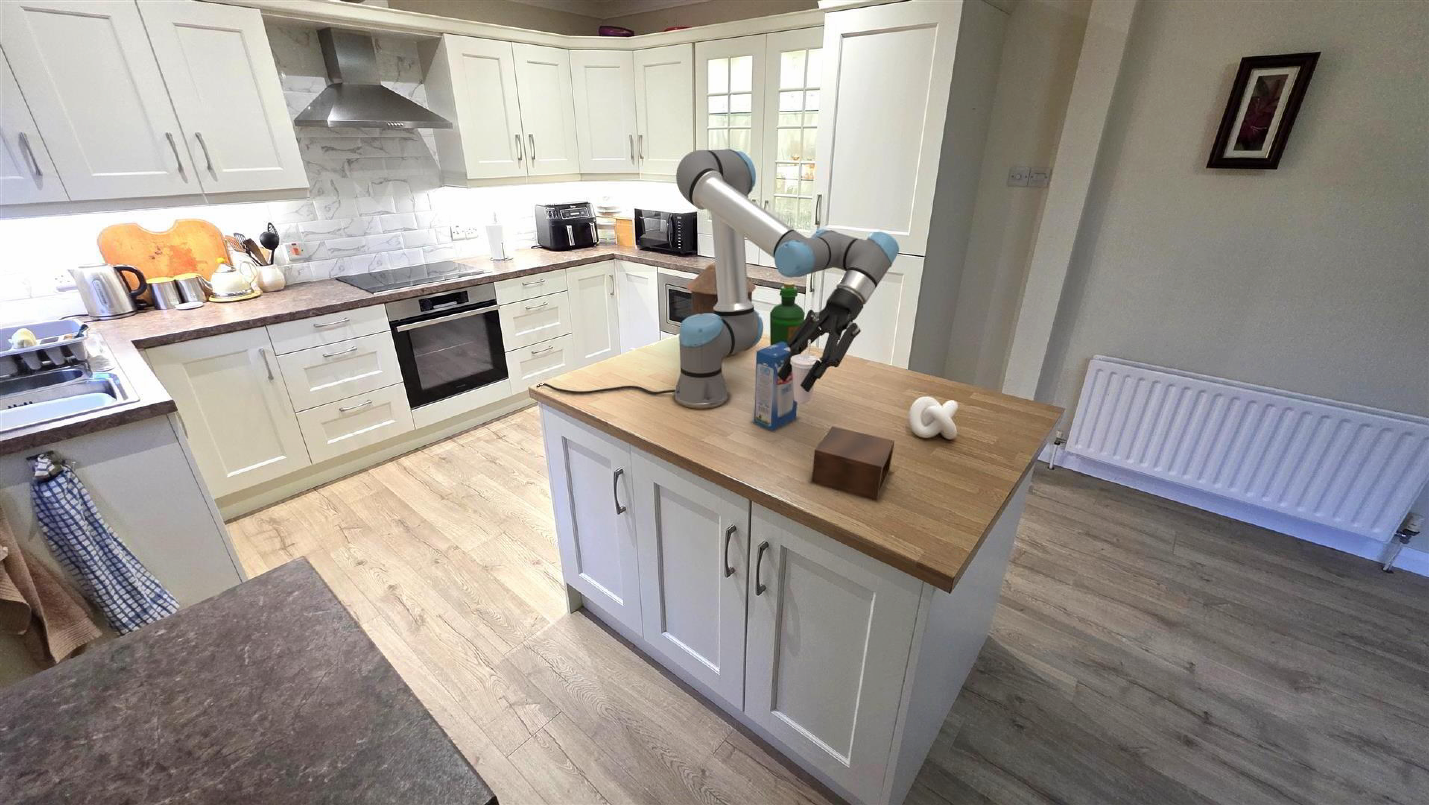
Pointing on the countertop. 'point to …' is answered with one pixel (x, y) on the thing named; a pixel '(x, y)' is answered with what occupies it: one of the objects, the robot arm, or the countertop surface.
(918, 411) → the white knot sculpture
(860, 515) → the countertop surface
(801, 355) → the smoothie
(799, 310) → the bottle
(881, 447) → the open-ended wooden box
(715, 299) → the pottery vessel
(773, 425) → the milk carton
